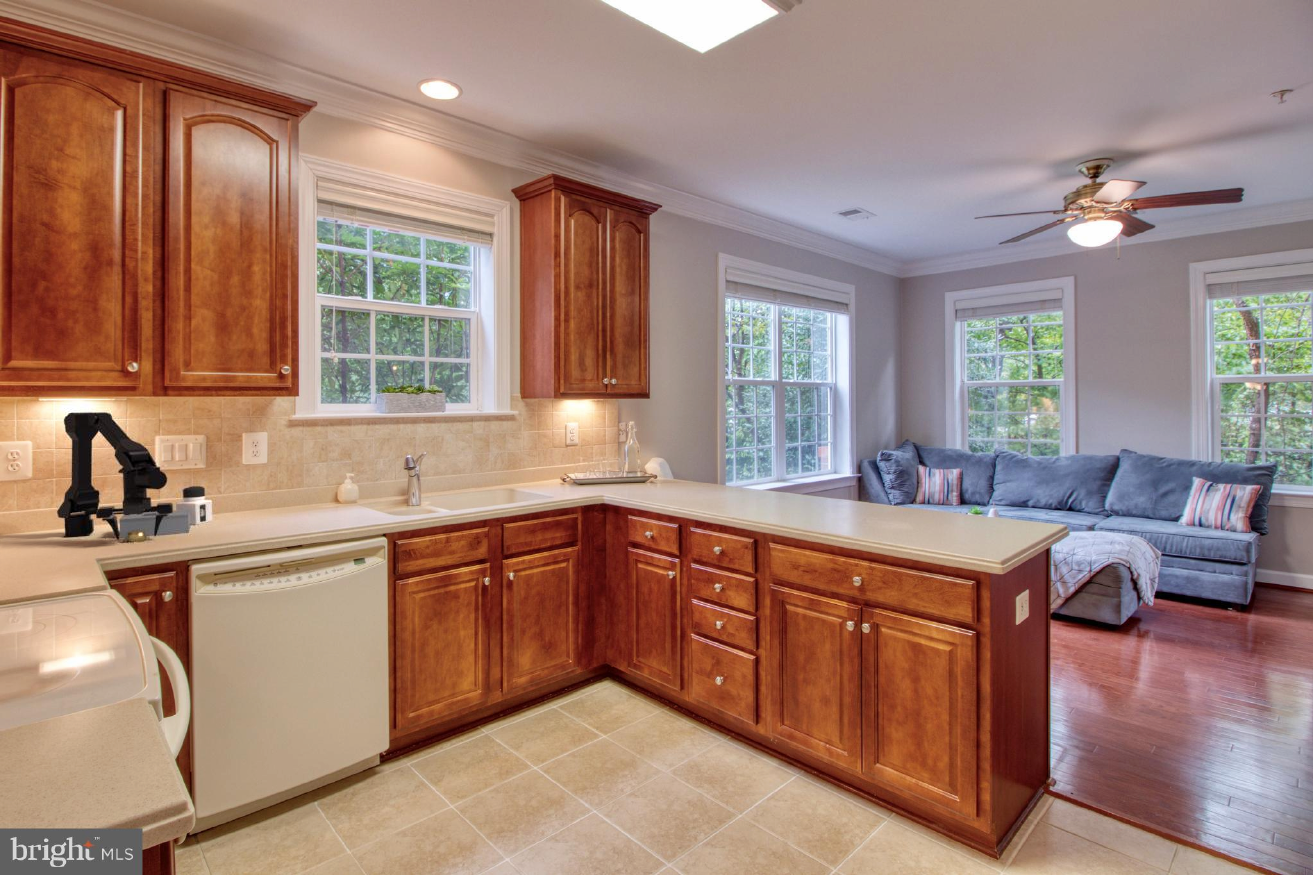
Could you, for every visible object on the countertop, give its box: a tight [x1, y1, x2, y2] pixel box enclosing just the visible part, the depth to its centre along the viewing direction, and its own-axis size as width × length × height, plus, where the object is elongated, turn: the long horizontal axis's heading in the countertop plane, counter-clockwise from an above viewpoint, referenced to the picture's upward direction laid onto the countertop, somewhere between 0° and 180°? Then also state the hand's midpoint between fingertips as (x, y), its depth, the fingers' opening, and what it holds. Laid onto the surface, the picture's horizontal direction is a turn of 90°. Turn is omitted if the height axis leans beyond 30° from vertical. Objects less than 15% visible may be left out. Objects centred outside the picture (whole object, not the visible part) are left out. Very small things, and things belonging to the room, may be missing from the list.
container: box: [175, 485, 213, 526], centre depth 245 cm, size 8×8×13 cm
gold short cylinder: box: [127, 531, 147, 544], centre depth 214 cm, size 4×4×3 cm
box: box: [119, 509, 191, 539], centre depth 228 cm, size 18×12×6 cm, turn 122°
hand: (137, 537), depth 214 cm, fingers open, 9 cm apart
